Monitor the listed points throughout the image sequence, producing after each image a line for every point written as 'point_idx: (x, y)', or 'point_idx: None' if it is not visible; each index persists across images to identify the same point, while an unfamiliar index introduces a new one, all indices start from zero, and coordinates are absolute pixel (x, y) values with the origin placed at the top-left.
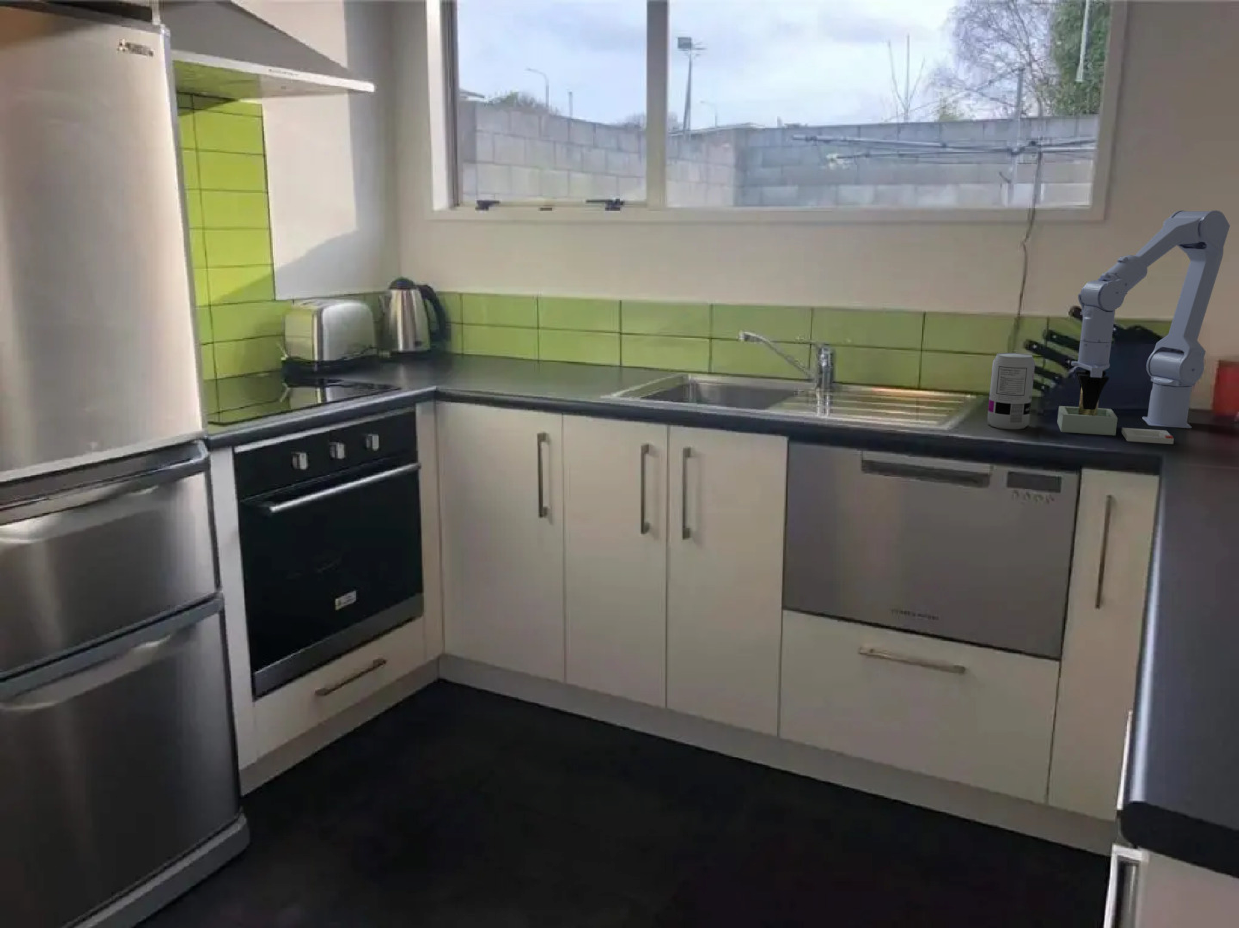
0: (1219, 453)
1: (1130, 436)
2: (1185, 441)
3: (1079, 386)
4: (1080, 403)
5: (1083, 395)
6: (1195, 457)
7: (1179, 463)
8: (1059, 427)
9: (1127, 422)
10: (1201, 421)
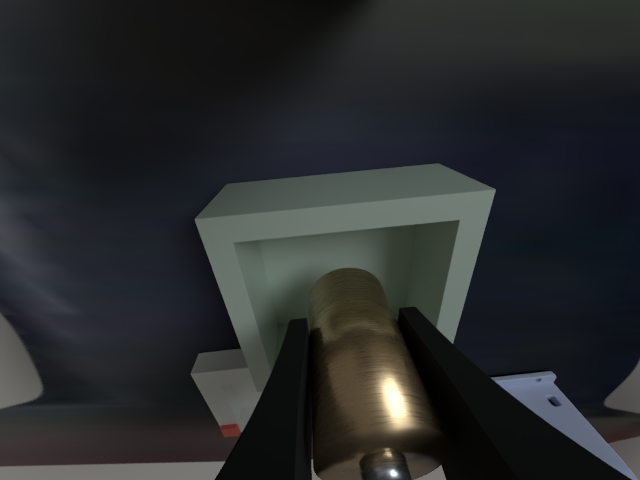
0: (212, 454)
1: (193, 376)
2: None
3: (510, 397)
4: (338, 320)
5: (264, 392)
6: (139, 436)
7: (44, 423)
8: (319, 177)
9: (508, 346)
10: None
